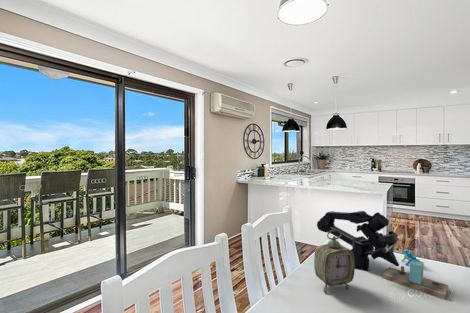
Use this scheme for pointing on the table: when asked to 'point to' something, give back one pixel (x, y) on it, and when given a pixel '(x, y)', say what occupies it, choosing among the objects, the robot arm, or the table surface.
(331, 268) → the tabletop clock
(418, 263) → the block
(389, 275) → the board
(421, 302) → the table surface
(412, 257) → the blue irregular piece
